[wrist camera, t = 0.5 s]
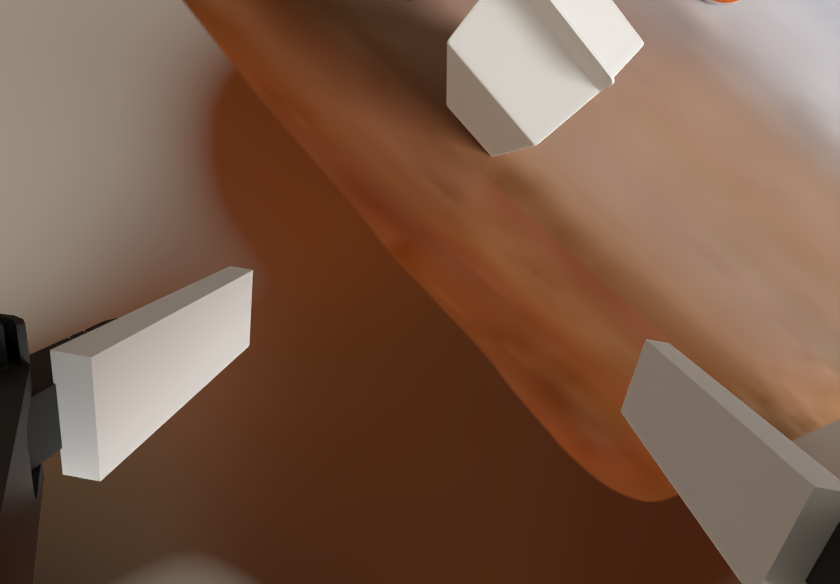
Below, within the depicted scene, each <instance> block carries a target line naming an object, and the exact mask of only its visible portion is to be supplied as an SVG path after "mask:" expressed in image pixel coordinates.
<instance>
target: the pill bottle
mask: <svg viewBox="0 0 840 584" xmlns="http://www.w3.org/2000/svg"><path fill="white" fill-rule="evenodd" d="M705 1H707V2H710V3H712V4H718V5H725V4H731V3H735V2H738V1H740V0H705Z"/></svg>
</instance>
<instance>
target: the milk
mask: <svg viewBox="0 0 840 584" xmlns="http://www.w3.org/2000/svg"><path fill="white" fill-rule="evenodd" d="M643 45H644V42H643V41H642V39H641V38H640V37H639V35H638V34H637V33H636V31H635V30H634V29H633V27H632V26H631V25H630V23H629V22H628V21H627V19H626V18H625V17H624V15H623V14H622V13H621V11H620V10H619V9H618V7H617V6H616V5H615V3H614V2H613V1H612V0H478V1H477V2H476V4H475V5H474V6H473V8H472V9H471V10H470V12H469V13H468V14H467V15H466V17H465V18H464V19H463V21H462V22H461V23H460V25H459V26H458V27H457V29H456V30H455V31H454V32H453V34H452V35H451V36H450V38H449V39H448V41H447V96H446V105H447V107H448V108H449V109H450V110H451V111H452V113H453V114H454V115H455V116H456V117H457V118H458V119H459V121H460V122H461V123H462V124H463V125H464V126H465V127H466V129H467V130H468V131H469V132H470V133H471V134H472V135H473V136H474V138H475V139H476V140H477V141H478V142H479V143H480V144H481V146H482V147H483V148H484V149H485V150H486V151H487V152H488V154H489V155H490V156H491V157H494V156H498V155H502V154H506V153H509V152H513V151H517V150H520V149H524V148H528V147H532V146H535V145H537V144H539V143H540V142H541V141H542V140H543V139H545V138H546V137H547V136H548V135H549V134H550V133H552V132H553V131H554V130H555V129H556V128H558V127H559V126H560V125H561V124H562V123H564V122H565V121H566V120H567V119H568V118H569V117H571V116H572V115H573V114H574V113H575V112H577V111H578V110H579V109H580V108H581V107H582V106H584V105H585V104H586V103H587V102H588V101H590V100H591V99H592V98H593V97H594V96H595V95H597V94H598V93H599V92H600V91H602V90H603V89H605V88H607V87H609V86H611V85H612V84H613V83H614V77H615V75H616V74H617V73H618V72H619V71H620V70H621V69H622V68H623V67H624V66H625V65H626V64H627V63H628V61H629V60H630V59H631V58H632V57H633V56H634V55H635V54H636V53H637V52H638V51H639V50H640V49H641V47H642V46H643Z"/></svg>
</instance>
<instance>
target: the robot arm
mask: <svg viewBox="0 0 840 584" xmlns="http://www.w3.org/2000/svg"><path fill="white" fill-rule="evenodd" d="M252 275H253V270H248V269H243V268H237V267H231V266H230V267H228V268H226V269H223V270H221V271H219V272H217V273H215V274H213V275H211V276H208V277H206V278H204V279H202V280H200V281H197V282H195V283H193V284H191V285H189V286H187V287H185V288H182V289H180V290H179V291H176V292H174V293H172V294H170V295H167V296H166V297H163V298H161V299H159V300H157V301H154V302H152V303H150V304H148V305H146V306H144V307H142V308H140V309H137V310H135V311H133V312H131V313H129V314H127V315H124V316H122V317H120V318H116V319H111V320H107V321H103V322H101V323H99V324H97V325H94V326H92V327H90V328H88V329H86V330H85V332H84V331H81V332H79V333H77V334H75V335H72V336H71V337H70V339H68V338H66V339H64V340H62V341H59V342H57V343H55V344H53V345H50V346H48V347H46V348H44V349H42V350H40V351H37V352H35V353H33V354H31V355H29V351H28V342H27V334H26V327H25V322H24V320H23V319H21V318H19V317H16V316H14V315H6V314H0V584H33V581H34V571H35V561H36V552H37V542H38V532H39V522H40V512H41V502H42V493H43V483H44V474H43V466H42V463H43V462H44V461H45V460H47V459H48V458H49V457H51V456H52V455H53V454H55V453H56V452H58V451H59V450H61V460H62V470H63V475H69V476H74V477H80V478H86V479H91V480H96V481H101V480H102V479H103V478H104V477H106V476H107V475H108V474H109V473H110V472H111V471H112V470H113V469H114V468H115V467H117V466H118V465H119V464H120V463H121V462H122V461H123V460H124V459H125V458H126V457H128V456H129V455H130V454H131V453H132V452H133V451H134V450H135V449H136V448H137V447H139V446H140V445H141V444H142V443H143V442H144V441H145V440H146V439H147V438H148V437H149V436H151V435H152V434H153V433H154V432H155V431H156V430H157V429H158V428H159V427H160V426H161V425H163V424H164V423H165V422H166V421H167V420H168V419H169V418H170V417H171V416H173V415H174V414H175V413H176V412H177V411H178V410H179V409H180V408H181V407H182V406H183V405H185V404H186V403H187V402H188V401H189V400H190V399H191V398H192V397H193V396H194V395H196V394H197V393H198V392H199V391H200V390H201V389H202V388H203V387H204V386H205V385H207V384H208V383H209V382H210V381H211V380H212V379H213V378H214V377H215V376H216V375H217V374H219V373H220V372H221V371H222V370H223V369H224V368H225V367H226V366H227V365H229V364H230V363H231V362H232V361H233V360H234V359H235V358H236V357H237V356H238V355H239V354H241V353H242V352H243V351H244V350H245V349H246V348H247V347H248V346H249V340H250V319H251V298H252ZM621 413H622V414H623V416H624V417H625V419H626V420H627V421H628V423H629V424H630V426H631V427H632V429H633V430H634V431H635V433H636V434H637V436H638V437H639V438H640V440H641V441H642V443H643V444H644V446H645V447H646V448H647V450H648V451H649V453H650V454H651V456H652V457H653V458H654V460H655V461H656V463H657V464H658V465H659V467H660V468H661V470H662V471H663V473H664V474H665V475H666V477H667V478H668V480H669V481H670V482H671V484H672V485H673V487H674V488H675V490H676V491H677V492H678V494H679V495H680V497H681V498H682V499H683V501H684V502H685V504H686V505H687V507H688V508H689V509H690V511H691V512H692V514H693V515H694V517H695V518H696V519H697V521H698V522H699V524H700V525H701V526H702V528H703V529H704V531H705V532H706V534H707V535H708V536H709V538H710V539H711V541H712V542H713V543H714V545H715V546H716V548H717V549H718V550H719V552H720V553H721V555H722V556H723V558H724V559H725V561H726V562H727V563H728V565H729V566H730V568H731V569H732V570H733V572H734V573H735V575H736V576H737V578H738V579H739V580H740V582H741V583H742V584H806V583H807V584H840V480H839V479H838V478H837V477H835V476H834V475H833V474H832V473H830V472H829V471H828V470H827V469H825V468H824V467H823V466H822V465H820V464H819V463H818V462H817V461H815V460H814V459H813V458H812V457H810V456H809V455H808V454H806V453H805V452H804V451H803V450H802V449H800V448H799V447H798V446H797V445H795V444H794V443H793V442H792V441H790V440H789V439H788V438H787V437H785V436H784V435H783V434H782V433H780V432H779V431H778V430H777V429H775V428H774V427H773V426H772V425H770V424H769V423H768V422H767V421H765V420H764V419H763V418H762V417H760V416H759V415H758V414H757V413H755V412H754V411H753V410H752V409H751V408H749V407H748V406H747V405H746V404H744V403H743V402H742V401H741V400H739V399H738V398H737V397H736V396H734V395H733V394H732V393H731V392H729V391H728V390H727V389H726V388H724V387H723V386H722V385H721V384H719V383H718V382H717V381H716V380H714V379H713V378H712V377H711V376H709V375H708V374H707V373H706V372H704V371H703V370H702V369H701V368H699V367H698V366H697V365H696V364H694V363H693V362H692V361H691V360H689V359H688V358H687V357H686V356H684V355H683V354H682V353H681V352H679V351H678V350H677V349H676V348H674V347H673V346H672V345H671V344H669V343H665V342H659V341H653V340H648V339H646V340H645V343H644V346H643V349H642V352H641V355H640V357H639V360H638V363H637V366H636V369H635V372H634V375H633V377H632V380H631V383H630V386H629V389H628V392H627V395H626V397H625V400H624V403H623V406H622V409H621Z"/></svg>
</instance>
